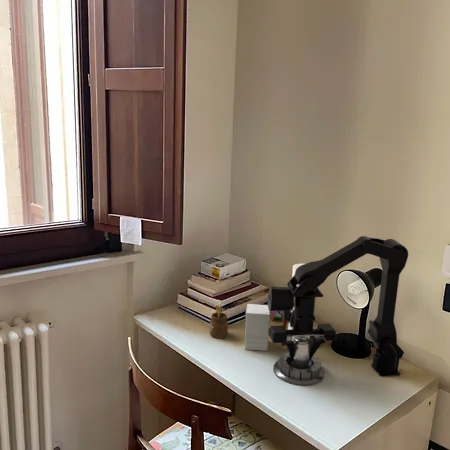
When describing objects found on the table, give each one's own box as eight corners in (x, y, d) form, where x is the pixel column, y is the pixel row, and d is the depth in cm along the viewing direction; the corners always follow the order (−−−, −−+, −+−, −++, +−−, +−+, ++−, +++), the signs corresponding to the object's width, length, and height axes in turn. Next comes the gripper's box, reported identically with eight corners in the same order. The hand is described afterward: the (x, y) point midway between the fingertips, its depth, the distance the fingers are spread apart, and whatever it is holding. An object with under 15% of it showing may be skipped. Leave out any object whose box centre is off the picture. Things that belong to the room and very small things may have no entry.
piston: (305, 361, 153) (307, 334, 150) (310, 370, 148) (313, 343, 146) (289, 362, 152) (291, 335, 150) (294, 371, 147) (296, 343, 145)
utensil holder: (228, 331, 173) (229, 298, 170) (226, 340, 167) (227, 305, 164) (210, 329, 174) (212, 296, 171) (208, 338, 168) (209, 304, 165)
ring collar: (315, 357, 159) (316, 348, 158) (332, 384, 144) (333, 374, 144) (267, 359, 156) (268, 350, 155) (281, 387, 142) (281, 377, 141)
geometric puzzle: (276, 320, 178) (284, 298, 181) (259, 315, 182) (266, 294, 184) (283, 325, 184) (290, 305, 186) (266, 320, 188) (273, 300, 190)
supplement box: (267, 340, 168) (270, 304, 165) (267, 351, 161) (269, 314, 158) (245, 338, 169) (247, 303, 166) (243, 349, 162) (245, 312, 158)
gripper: (325, 297, 155) (321, 345, 159) (265, 299, 151) (262, 347, 155) (339, 313, 144) (334, 363, 148) (274, 315, 141) (271, 367, 145)
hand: (300, 359), depth 149 cm, fingers closed on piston, 5 cm apart
